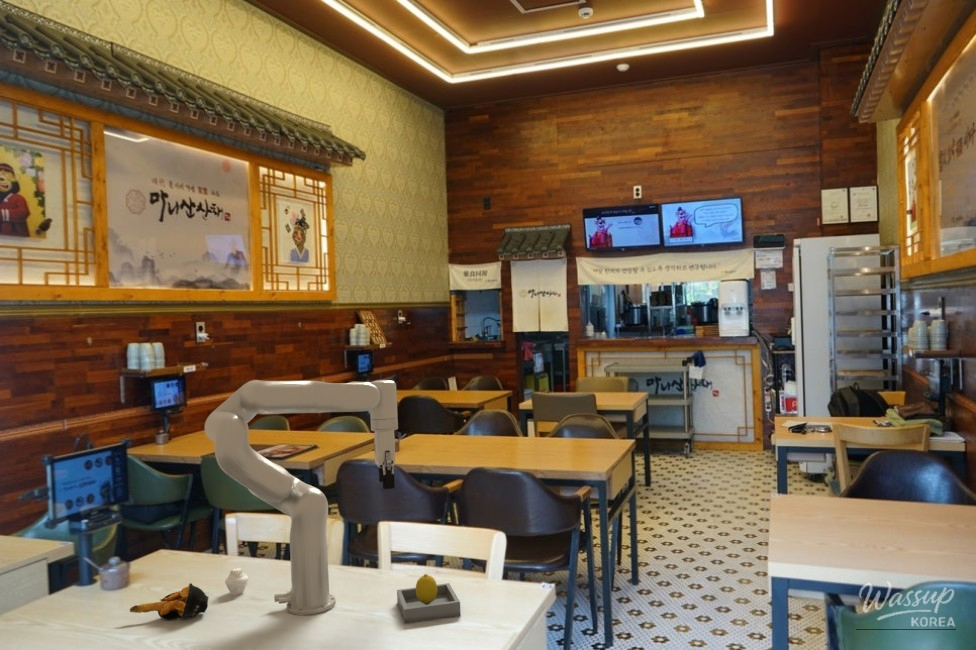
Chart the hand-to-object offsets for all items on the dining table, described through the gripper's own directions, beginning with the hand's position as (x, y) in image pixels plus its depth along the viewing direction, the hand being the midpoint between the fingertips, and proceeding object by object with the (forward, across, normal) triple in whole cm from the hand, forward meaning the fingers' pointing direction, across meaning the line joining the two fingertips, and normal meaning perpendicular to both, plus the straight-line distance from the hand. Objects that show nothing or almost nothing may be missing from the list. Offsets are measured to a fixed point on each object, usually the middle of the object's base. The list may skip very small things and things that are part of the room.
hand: (386, 485), depth 207 cm
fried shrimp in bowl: (+29, +3, -57) cm, 64 cm away
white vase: (+28, -10, -42) cm, 52 cm away
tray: (+28, +21, +7) cm, 36 cm away
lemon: (+28, +21, +7) cm, 35 cm away
